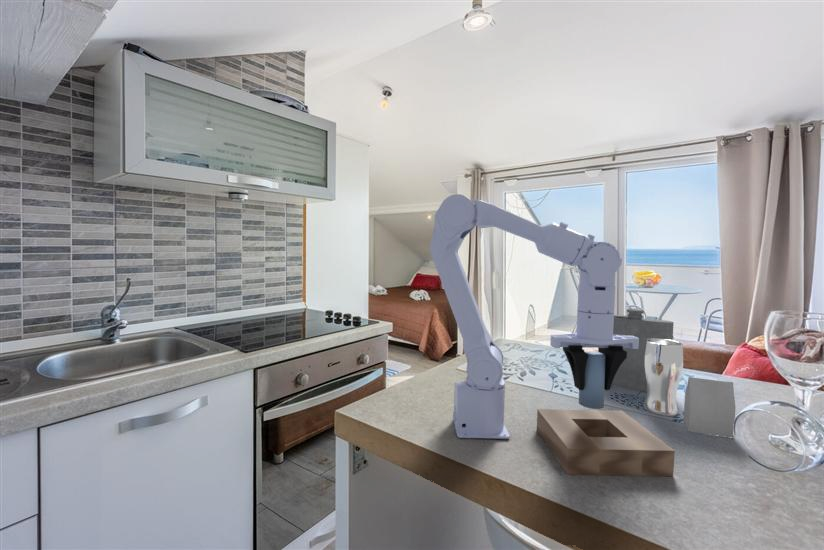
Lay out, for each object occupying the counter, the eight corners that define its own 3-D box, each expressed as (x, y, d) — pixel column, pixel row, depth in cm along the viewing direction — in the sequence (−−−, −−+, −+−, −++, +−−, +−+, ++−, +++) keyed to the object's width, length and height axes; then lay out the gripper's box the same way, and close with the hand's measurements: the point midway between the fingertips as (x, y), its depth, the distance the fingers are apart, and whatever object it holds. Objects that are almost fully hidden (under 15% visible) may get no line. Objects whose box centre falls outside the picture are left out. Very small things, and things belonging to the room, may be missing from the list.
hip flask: (669, 391, 90) (674, 311, 89) (669, 396, 87) (674, 313, 86) (597, 378, 99) (601, 305, 98) (595, 382, 96) (599, 306, 95)
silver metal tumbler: (662, 418, 75) (666, 346, 74) (633, 405, 82) (637, 338, 81) (688, 415, 77) (692, 344, 76) (658, 402, 84) (661, 337, 83)
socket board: (567, 474, 56) (568, 448, 55) (536, 429, 70) (537, 409, 69) (673, 476, 55) (674, 450, 55) (621, 431, 69) (622, 410, 69)
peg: (585, 408, 63) (587, 356, 62) (574, 399, 67) (576, 350, 66) (608, 409, 63) (610, 356, 62) (596, 400, 67) (598, 351, 66)
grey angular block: (733, 438, 67) (737, 385, 67) (688, 431, 70) (691, 379, 69) (725, 430, 71) (729, 379, 70) (683, 423, 73) (686, 374, 73)
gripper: (623, 308, 68) (620, 380, 68) (545, 307, 68) (542, 379, 68) (648, 314, 61) (644, 395, 61) (560, 313, 60) (557, 394, 61)
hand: (592, 388), depth 64 cm, fingers closed on peg, 4 cm apart
